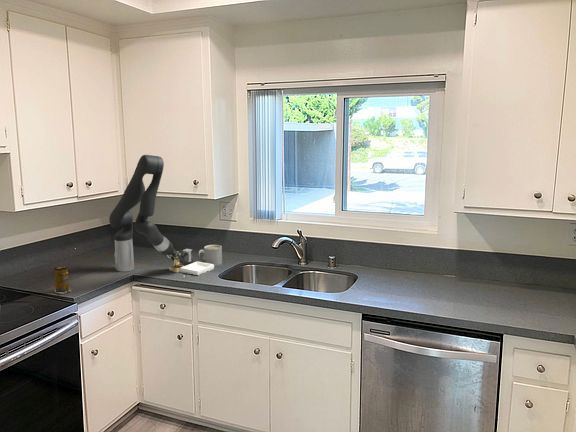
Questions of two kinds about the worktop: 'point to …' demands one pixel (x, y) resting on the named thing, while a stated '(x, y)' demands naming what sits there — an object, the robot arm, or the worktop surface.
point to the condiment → (61, 279)
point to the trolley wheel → (187, 257)
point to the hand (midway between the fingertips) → (179, 261)
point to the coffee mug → (212, 254)
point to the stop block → (175, 269)
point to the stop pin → (176, 262)
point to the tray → (197, 268)
